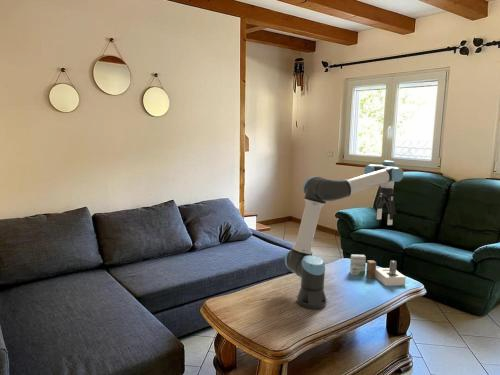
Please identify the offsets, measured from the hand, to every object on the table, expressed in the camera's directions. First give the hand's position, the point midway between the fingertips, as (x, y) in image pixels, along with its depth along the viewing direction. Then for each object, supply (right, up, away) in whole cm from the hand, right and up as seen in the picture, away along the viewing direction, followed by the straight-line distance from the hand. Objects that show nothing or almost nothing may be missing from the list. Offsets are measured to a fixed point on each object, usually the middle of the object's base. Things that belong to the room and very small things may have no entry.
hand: (384, 221), depth 218 cm
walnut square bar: (-7, -34, +5) cm, 35 cm away
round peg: (+3, -35, -3) cm, 35 cm away
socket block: (+3, -35, 0) cm, 35 cm away
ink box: (-13, -34, +10) cm, 37 cm away
